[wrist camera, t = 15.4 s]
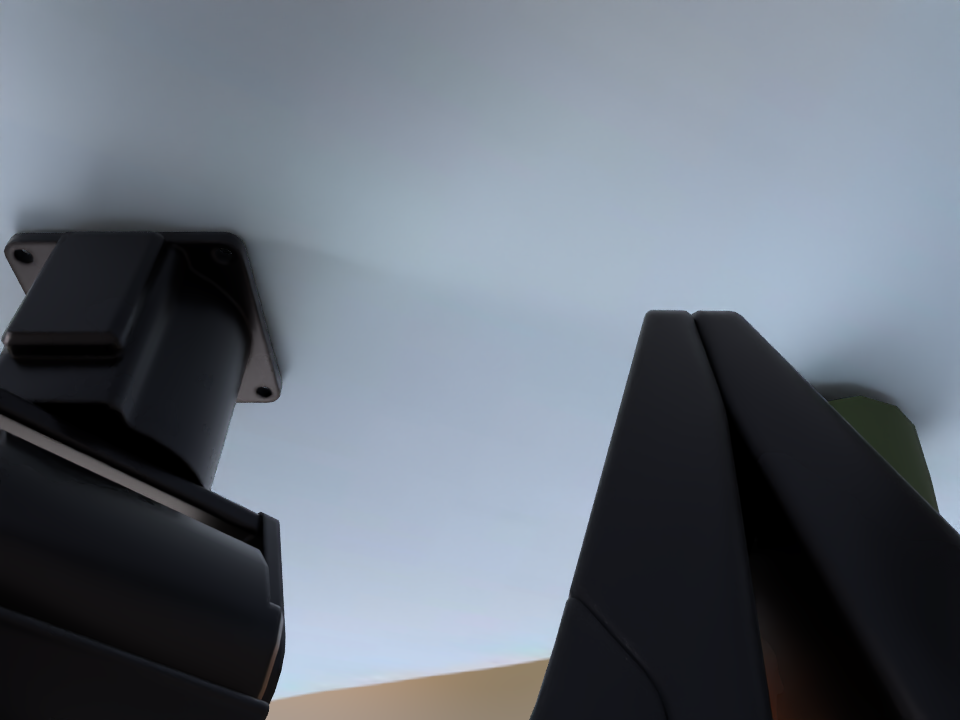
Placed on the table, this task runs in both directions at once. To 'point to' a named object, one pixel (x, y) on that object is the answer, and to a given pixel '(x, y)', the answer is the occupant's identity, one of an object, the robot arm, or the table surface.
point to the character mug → (890, 439)
